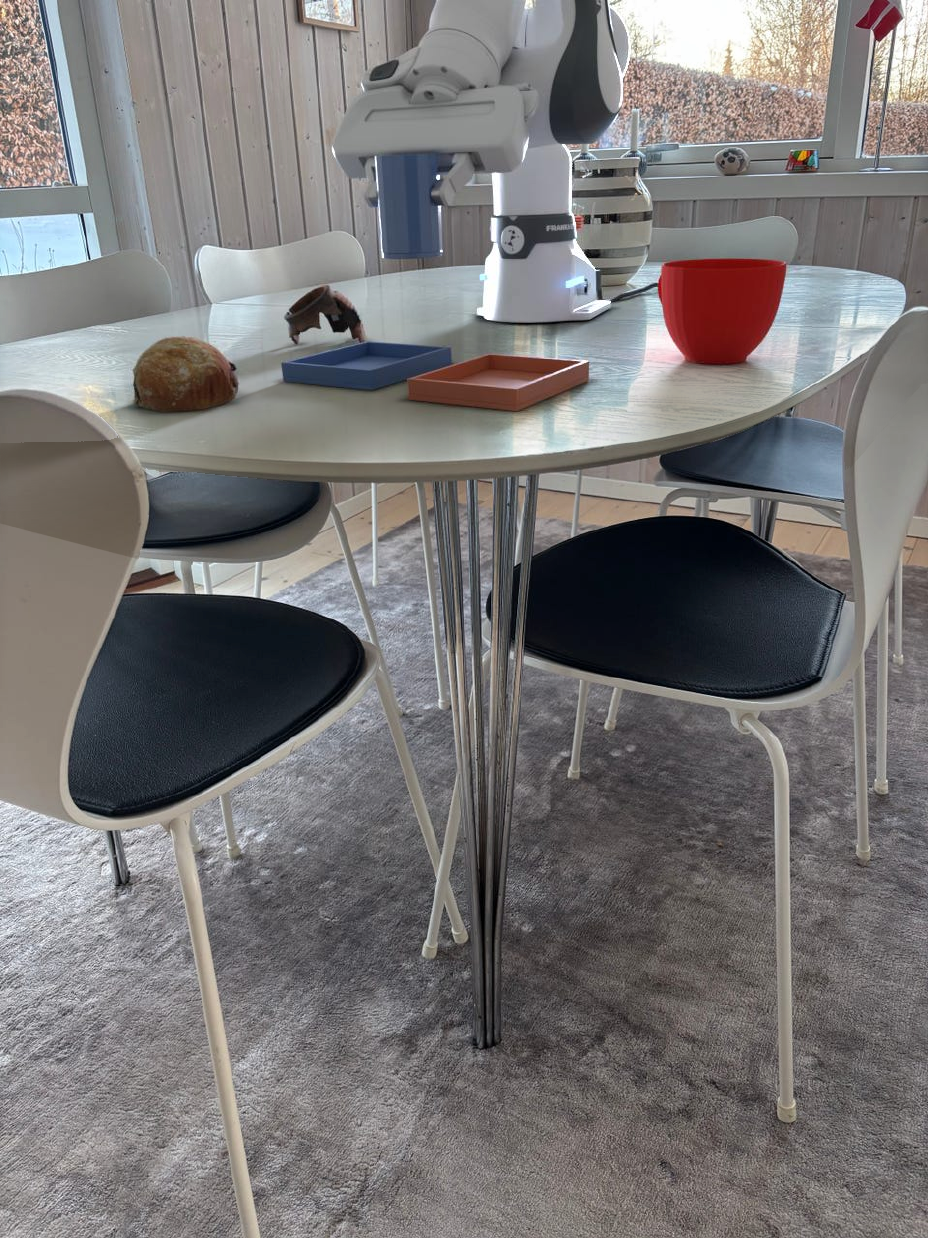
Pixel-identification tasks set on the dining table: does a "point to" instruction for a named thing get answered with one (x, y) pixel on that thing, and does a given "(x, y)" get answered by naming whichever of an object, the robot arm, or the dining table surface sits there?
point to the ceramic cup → (720, 306)
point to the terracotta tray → (499, 381)
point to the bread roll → (183, 376)
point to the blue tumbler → (408, 206)
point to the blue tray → (366, 365)
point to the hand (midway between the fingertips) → (405, 201)
